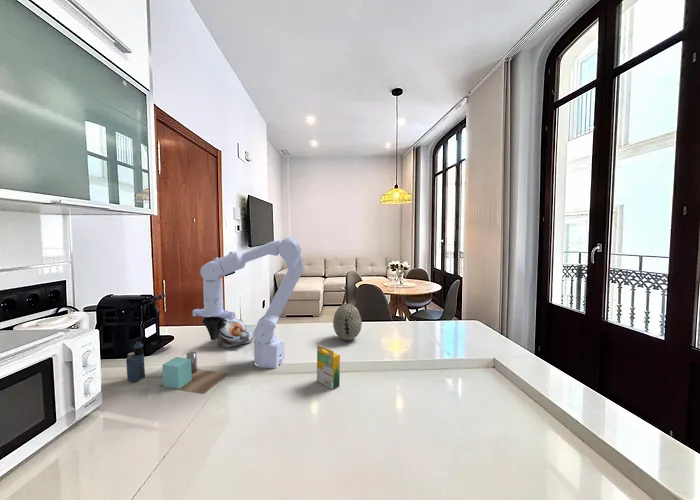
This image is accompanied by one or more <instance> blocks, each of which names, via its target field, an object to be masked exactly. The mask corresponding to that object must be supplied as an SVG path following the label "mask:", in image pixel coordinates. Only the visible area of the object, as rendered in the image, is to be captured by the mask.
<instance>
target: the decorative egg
mask: <svg viewBox="0 0 700 500" xmlns="http://www.w3.org/2000/svg"><path fill="white" fill-rule="evenodd" d="M332 319H333V322H332V323H333V330H334V333H335V334H336V336H337V337H338V338H339V339H342V340H343V341H351V340H353V339H355V338H356V337H358V335H359V334H360V332H361V330H362V326H363V325H362V324H363V323H362V321H363V320H362V316H361V314H360V311H359V309H358V308H357V307H356V306H354V305H353V304H352V303H343V304H341V305H340V306H339V307H338V308H337V309H336V311H335V312H334V315H333V318H332Z"/></svg>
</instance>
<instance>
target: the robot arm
mask: <svg viewBox="0 0 700 500" xmlns="http://www.w3.org/2000/svg"><path fill="white" fill-rule="evenodd" d="M268 255H271V256H276V257H277V256H278V255H279V256H280V257H281V258H282V260H284V262H285V264H286V267H287V271H286V273H285V275H284V277H283V279H282V281H281V283H280V285H279V287H278V289H277V291H276V292H275V294H274V296H273V299H272V301H271V302H270V304H269V307H267V310H266V312H265V314H264V315H262V317H261V318H260V319H258V321H257V323H256V326H255V329H254V330H253V332H252V334H253V348H254V349H253V351H254V352H253V353H254V354H253V357H254V358H253V359H254V361H253V362H255V363H256V364H257V365H259V367H258V368H271V369H277V368H278V364H279V363H281V361H283V359H284V360H285V343H284V341H282V340H279V339H278V338H277V336H276V334H275V329H276V326H277V323H278V321H279V318H280V316H281V315H282V312H283V310H284V308H285V306H286V304H287V302H288V301H289V299H290V297H291V295H292V293H293V291H294V289H295V287H296V285H297V284H298V281H299V280H300V277H301V275H302V273H303V271H304V264H303V256H302V255H303V254H302V249H301V247H300V244H299V242H298V241H297V240H296V239H295V238H294V237H285V238H284V239H277V240H273V241H270V242H267V243H265V244H263V245H262V244H261V246H258V247H255V248H253V249H249V250H248V251H246V252H243V253H242V252H239V251H235V252H234V251H229V252H228V254H227V255H225V256H221V257H219V256H218V257H214V260H212V261H208V262H207V263H205V264H203V265H202V266H201V268H200V272H199V273H200V276H201V277H202V278H203V279H202V280H203V282H202V283H203V285H202V287H203V291H202V292H203V308H195V309H193V310H192V317H203V319H202V323H203V325H204V326H205V327H206V329H207V332H208V334H209V337H210V340H211V341H216V340H217V338H218V336H219V332H220V328H221V326H222V324H223V322H224V320H225V319H229V320H233V319H235V318H236V312H235V311H229V310H225V309H224V292H223V286H224V285H223V276H226V275H230V274H232V273H235V272H236V271H238V270H241V269H244V268H245V267H246V264H247V263H248V262H251V261H254V260H257V259H259V258H263V257H265V256H268Z"/></svg>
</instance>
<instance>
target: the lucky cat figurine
mask: <svg viewBox="0 0 700 500" xmlns="http://www.w3.org/2000/svg"><path fill="white" fill-rule="evenodd" d="M243 321H244V320H243V319H242V318H239V319H238V318H236V317H235V319H233V320H229V319H225V320H224V322H223V324H222V326H221V328H220V332H219V336H218V338H217V339H216V340H217V343H218V345H219V346H221V347H223V348H225V347H228V348H230V346H231V347H234V346H239V345H244V344H250V343H252V342H253V340H254V335H253V332H251V331H250V329H249V328H248V326H247V325H246V323H244V322H243Z"/></svg>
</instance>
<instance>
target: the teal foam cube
mask: <svg viewBox="0 0 700 500" xmlns="http://www.w3.org/2000/svg"><path fill="white" fill-rule="evenodd" d="M161 367H162V381H163V382H162V384H163V387H162V388H164V387H169V388H168V389H170V388H175V389H174V390H176V389H180V388H181V387H183V386H184V385H185V384H187V383H188V382H190V381H191V380H192V372H191V359H187V357H179V356H175V357H174V358H172V359H170V360H168V361H166V362H164V363H163V364H162V366H161Z"/></svg>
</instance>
